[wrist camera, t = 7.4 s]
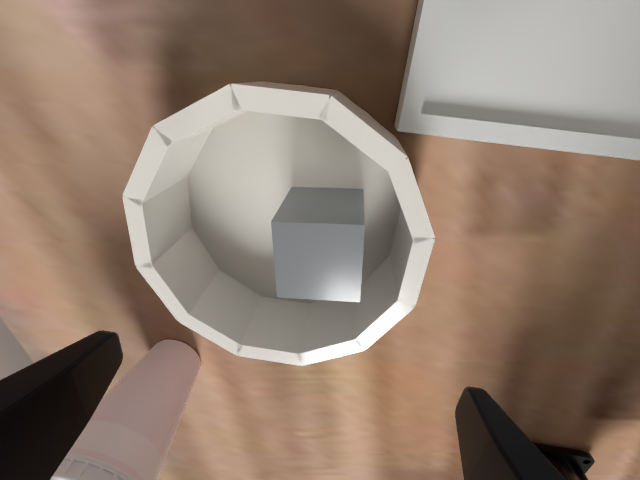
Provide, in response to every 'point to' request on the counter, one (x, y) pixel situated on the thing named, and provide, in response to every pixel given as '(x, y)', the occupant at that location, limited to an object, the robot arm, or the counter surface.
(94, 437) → the smoothie
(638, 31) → the tray
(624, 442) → the counter surface
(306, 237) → the grey block
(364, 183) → the bowl
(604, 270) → the counter surface
